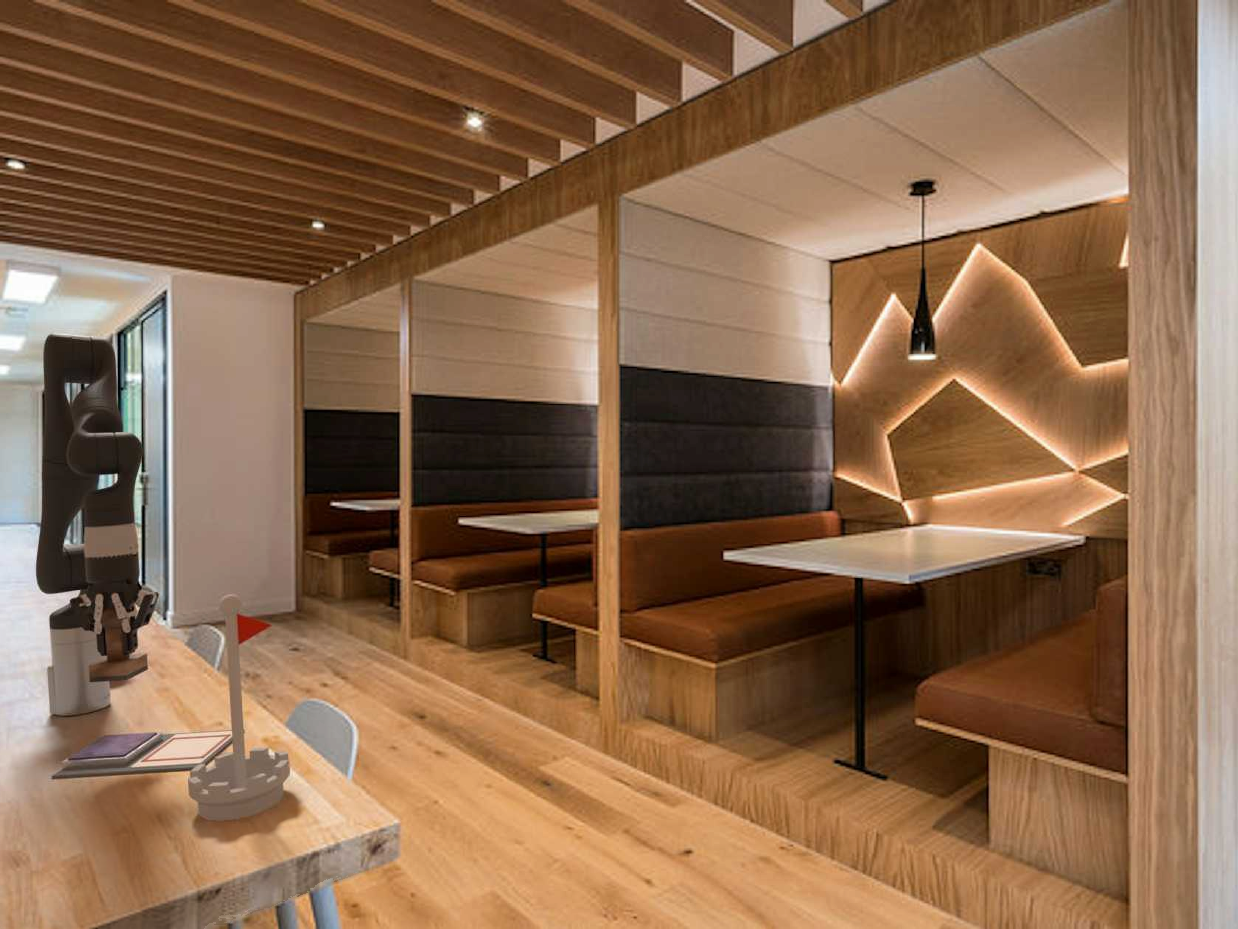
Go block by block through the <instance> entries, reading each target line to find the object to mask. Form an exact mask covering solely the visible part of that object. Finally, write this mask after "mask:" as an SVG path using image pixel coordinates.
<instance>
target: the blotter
mask: <svg viewBox="0 0 1238 929" xmlns="http://www.w3.org/2000/svg"><path fill="white" fill-rule="evenodd" d="M162 735H163V739H162V740H161V741H159V742H158V743H157V744H155V745H154V746H152V747H151V748H150V749H148V750H147V751H145V752H144V753H143V754H141V755H140V756H138V757H137V758H135V759H134V760H133V761H131V762H130V763H128V764H127V765H121V766H105V767H89V768H73V769H62V768H61V769H60V770H59V771H57V772H55V773H53V774H52V775H51V779H58V778H59V779H64V778H78V777H79V778H80V777H93V776H94V777H95V776H96V777H98V776H110V775H124V774H125V775H126V774H142V773H159V772H175V771H191V770H192V769H193V768H195V767H196V766H198V765H199V764H206V765H207V764H209V763H210V762H211V761H212V760H213V759H215V758H214V757H217V756H219V754H221V752H222V751H224V750H225V749H226V748H227V747H228V746H230V745H231V744H233V742H232V729H230V730H229V729H228V730H227V729H226V730H212V731H210V730H209V731H196V732H179V733H178V732H177V733H165V734H164V733H162Z"/></svg>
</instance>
